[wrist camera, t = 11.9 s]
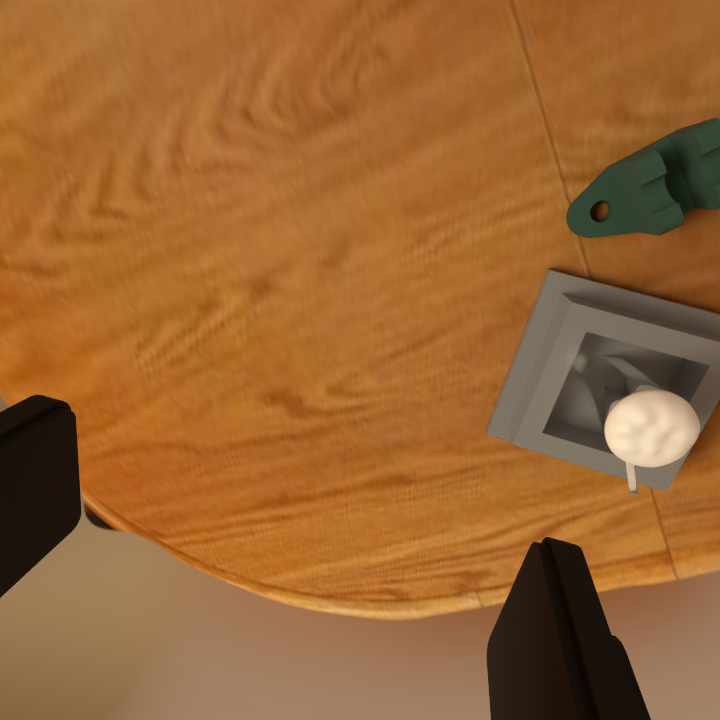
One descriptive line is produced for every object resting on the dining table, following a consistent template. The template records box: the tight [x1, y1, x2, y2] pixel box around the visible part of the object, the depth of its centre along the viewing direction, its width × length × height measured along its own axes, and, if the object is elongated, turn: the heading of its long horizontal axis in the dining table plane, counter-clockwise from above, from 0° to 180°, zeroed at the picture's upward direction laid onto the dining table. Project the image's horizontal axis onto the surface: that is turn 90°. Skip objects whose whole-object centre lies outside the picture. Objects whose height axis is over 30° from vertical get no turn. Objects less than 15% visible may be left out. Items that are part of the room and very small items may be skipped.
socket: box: [486, 269, 720, 491], centre depth 32 cm, size 13×13×4 cm
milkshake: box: [583, 356, 700, 496], centre depth 28 cm, size 4×5×10 cm
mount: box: [566, 118, 720, 238], centre depth 27 cm, size 11×4×5 cm, turn 119°
